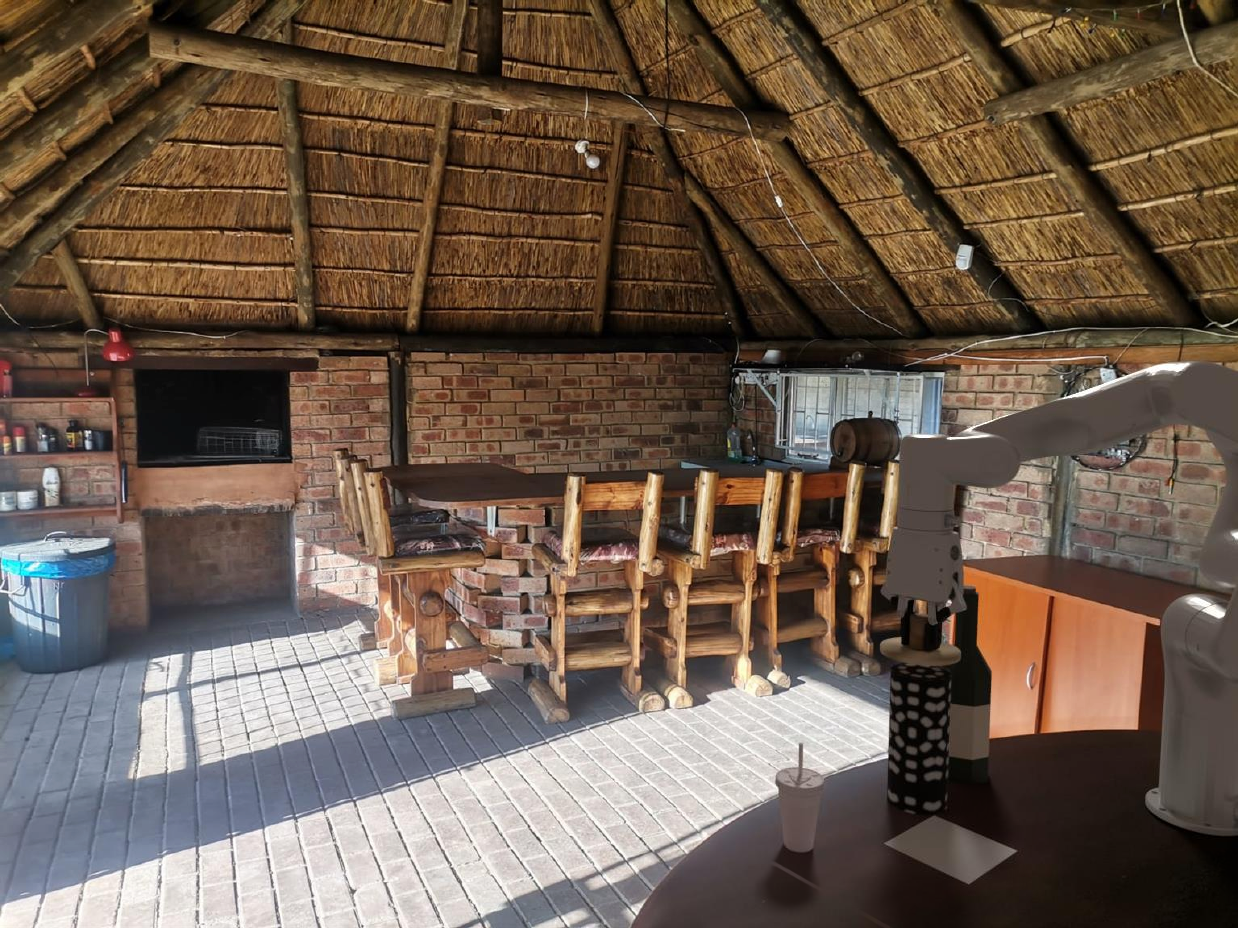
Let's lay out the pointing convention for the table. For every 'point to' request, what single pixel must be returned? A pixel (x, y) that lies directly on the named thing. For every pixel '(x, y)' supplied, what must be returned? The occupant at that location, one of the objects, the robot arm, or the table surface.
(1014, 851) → the mat
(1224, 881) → the table surface
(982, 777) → the wine bottle
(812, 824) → the smoothie
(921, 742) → the spotted tube
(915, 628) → the lid
